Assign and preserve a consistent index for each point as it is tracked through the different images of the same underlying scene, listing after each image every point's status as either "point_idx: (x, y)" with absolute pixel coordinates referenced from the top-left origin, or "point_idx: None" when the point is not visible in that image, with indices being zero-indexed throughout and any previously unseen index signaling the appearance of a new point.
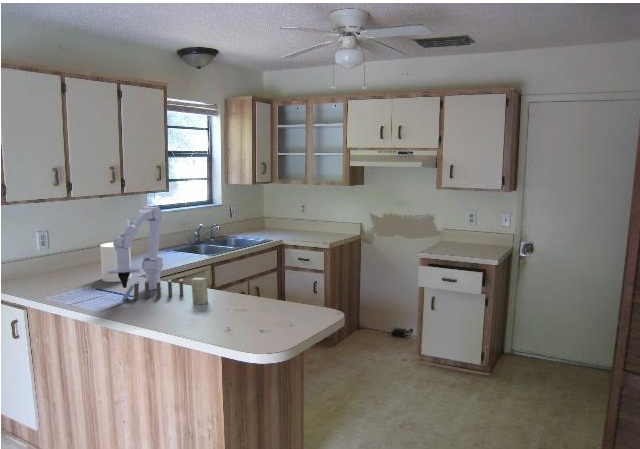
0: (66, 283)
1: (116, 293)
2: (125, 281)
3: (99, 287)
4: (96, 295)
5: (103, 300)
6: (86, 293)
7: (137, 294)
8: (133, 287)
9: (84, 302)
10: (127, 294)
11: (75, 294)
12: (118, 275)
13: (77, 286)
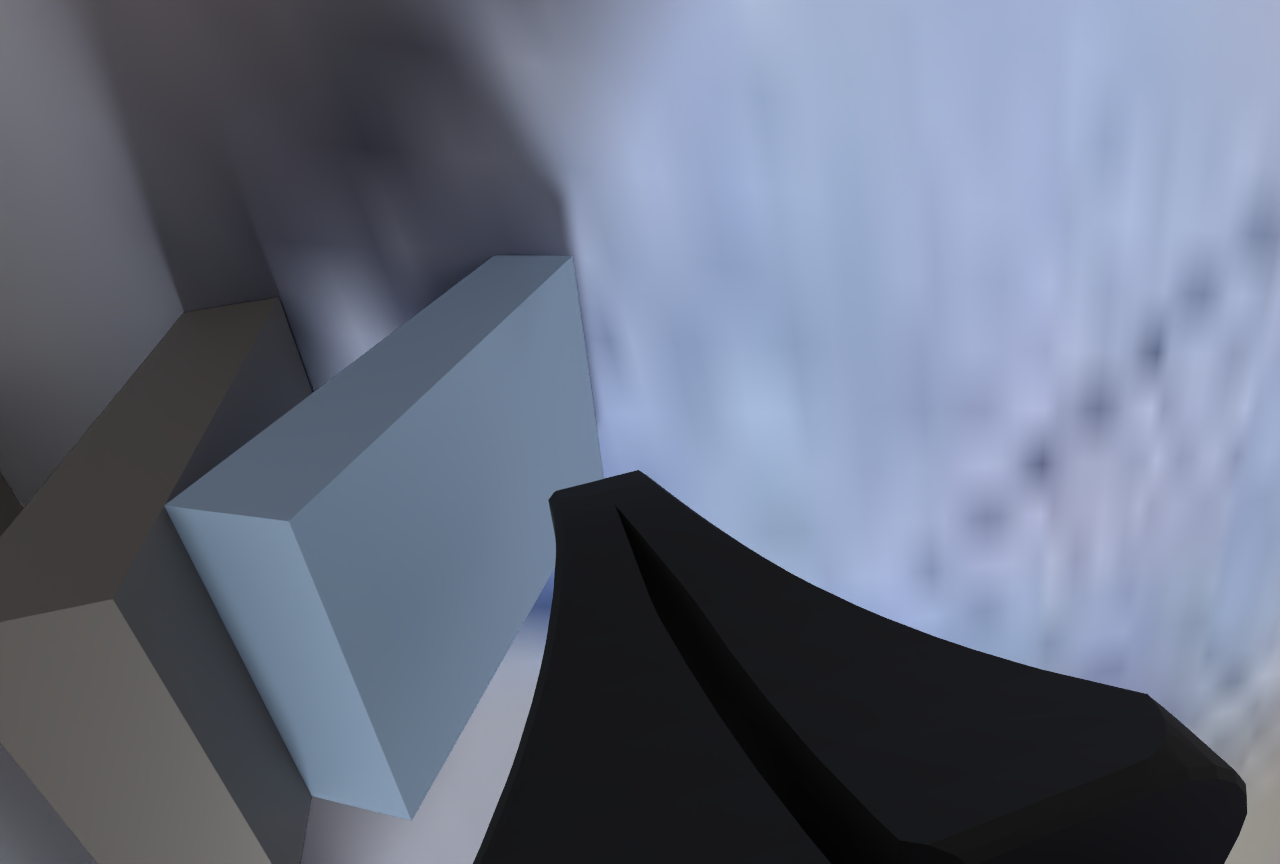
0: (1264, 860)
1: None
2: (613, 627)
3: None
4: (1055, 552)
5: (957, 268)
6: (1160, 621)
7: (134, 375)
8: (213, 473)
9: (1257, 152)
10: (453, 319)
11: (1275, 570)
12: (1224, 766)
13: None
